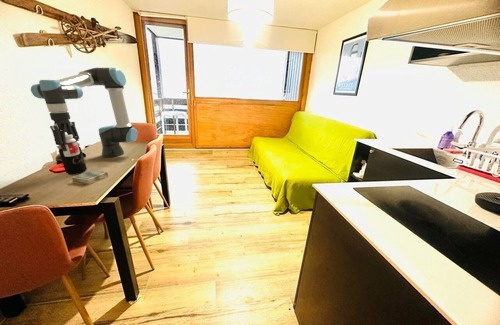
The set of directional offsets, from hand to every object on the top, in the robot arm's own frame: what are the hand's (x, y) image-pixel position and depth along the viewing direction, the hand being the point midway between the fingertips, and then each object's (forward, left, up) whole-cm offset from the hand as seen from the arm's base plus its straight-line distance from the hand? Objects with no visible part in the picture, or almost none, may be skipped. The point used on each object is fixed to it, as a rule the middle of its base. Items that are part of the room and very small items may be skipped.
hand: (72, 154), depth 112 cm
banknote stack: (-4, +3, -17) cm, 17 cm away
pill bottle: (0, 0, -1) cm, 1 cm away
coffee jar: (-10, -17, -17) cm, 26 cm away
